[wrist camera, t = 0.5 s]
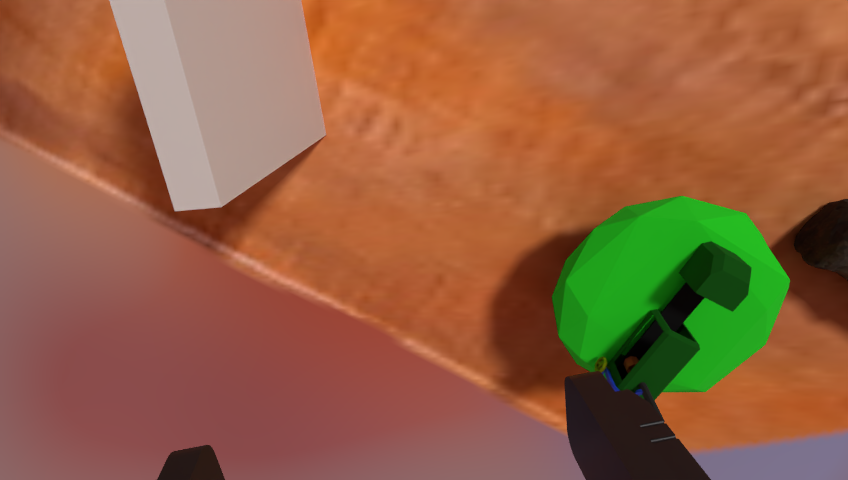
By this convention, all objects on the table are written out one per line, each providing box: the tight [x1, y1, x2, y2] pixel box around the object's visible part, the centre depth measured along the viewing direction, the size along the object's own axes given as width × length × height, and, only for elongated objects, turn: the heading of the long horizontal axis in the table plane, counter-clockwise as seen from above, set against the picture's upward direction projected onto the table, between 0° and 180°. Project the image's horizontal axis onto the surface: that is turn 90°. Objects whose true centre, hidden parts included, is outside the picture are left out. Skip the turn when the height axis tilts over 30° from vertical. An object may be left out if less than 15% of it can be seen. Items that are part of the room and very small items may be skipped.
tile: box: [109, 0, 326, 211], centre depth 23 cm, size 12×2×14 cm, turn 7°
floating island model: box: [552, 196, 790, 421], centre depth 28 cm, size 12×12×11 cm
